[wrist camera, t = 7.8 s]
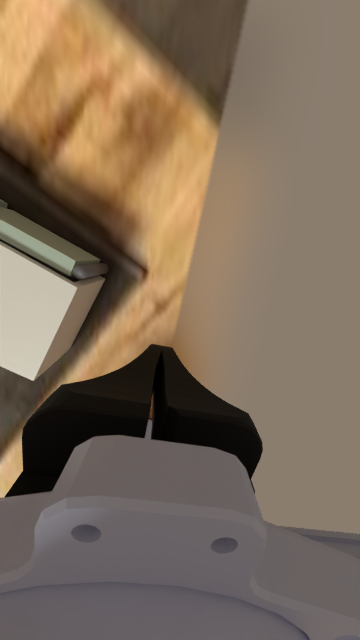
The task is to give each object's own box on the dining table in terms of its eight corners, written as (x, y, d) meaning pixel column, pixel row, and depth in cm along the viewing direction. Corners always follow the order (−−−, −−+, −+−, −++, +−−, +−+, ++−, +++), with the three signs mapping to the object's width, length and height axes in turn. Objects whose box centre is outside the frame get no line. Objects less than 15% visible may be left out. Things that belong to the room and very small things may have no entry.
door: (105, 276, 19) (83, 283, 14) (9, 223, 17) (-53, 210, 13) (114, 257, 19) (94, 257, 14) (16, 200, 17) (-46, 178, 12)
